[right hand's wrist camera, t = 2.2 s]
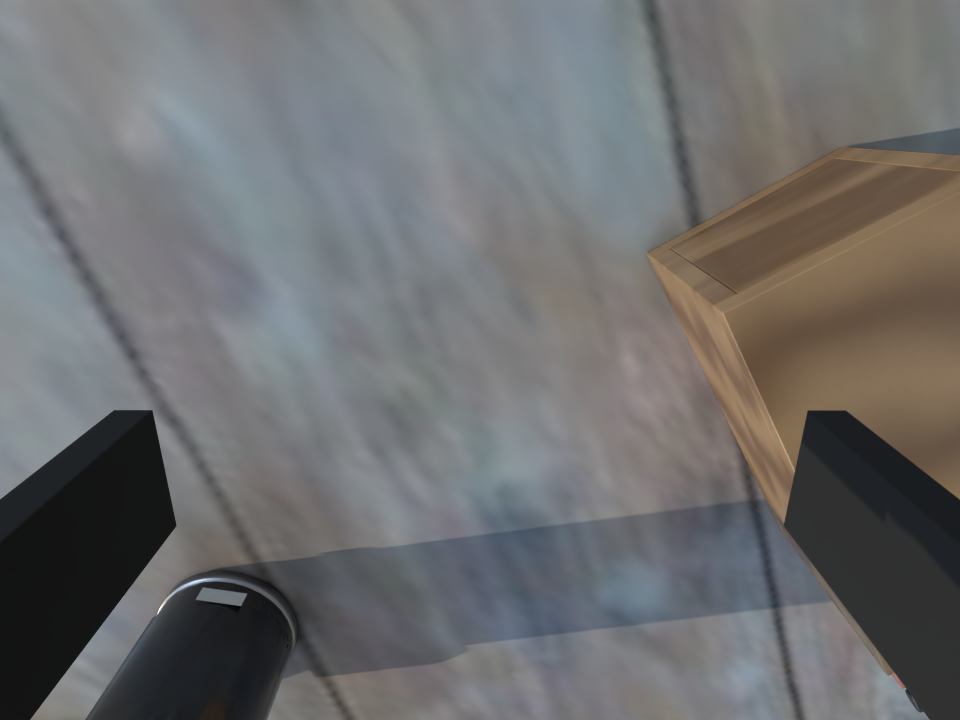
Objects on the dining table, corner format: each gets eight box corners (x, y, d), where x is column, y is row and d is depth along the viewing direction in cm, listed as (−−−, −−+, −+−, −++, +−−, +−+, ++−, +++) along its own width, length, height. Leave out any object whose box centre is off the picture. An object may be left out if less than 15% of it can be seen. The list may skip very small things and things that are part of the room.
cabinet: (950, 456, 39) (1130, 584, 28) (780, 530, 41) (887, 676, 30) (842, 146, 32) (1023, 158, 21) (646, 253, 34) (722, 313, 23)
